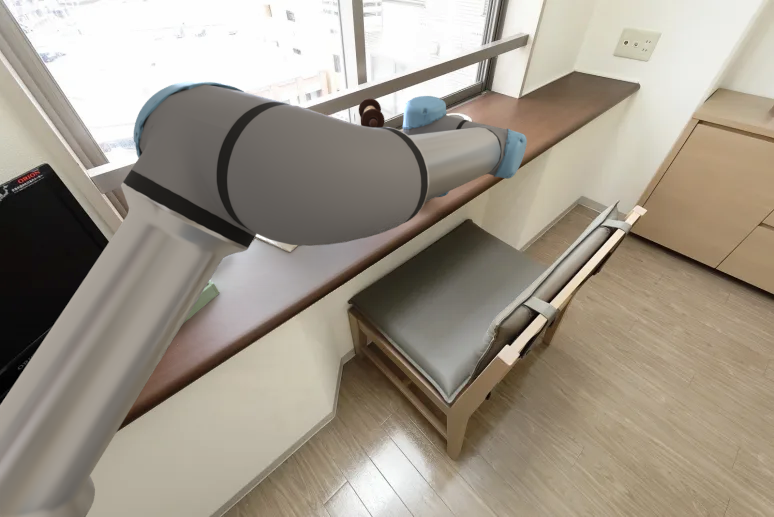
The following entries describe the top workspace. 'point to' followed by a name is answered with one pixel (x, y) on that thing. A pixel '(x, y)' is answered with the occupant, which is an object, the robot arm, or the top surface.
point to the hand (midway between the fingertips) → (273, 182)
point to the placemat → (278, 244)
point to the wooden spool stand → (371, 113)
